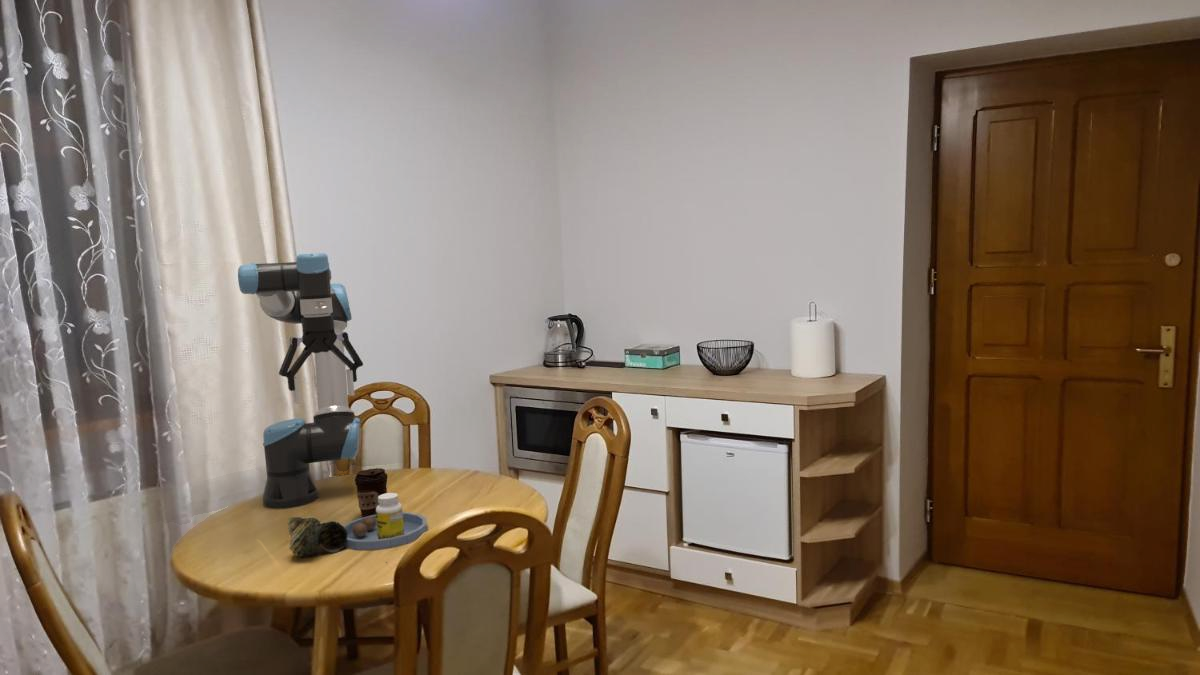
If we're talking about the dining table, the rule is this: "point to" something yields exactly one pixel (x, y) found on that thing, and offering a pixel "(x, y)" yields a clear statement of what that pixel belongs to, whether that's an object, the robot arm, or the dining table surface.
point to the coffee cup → (370, 489)
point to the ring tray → (412, 531)
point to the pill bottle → (389, 516)
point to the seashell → (315, 536)
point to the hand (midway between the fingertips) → (324, 399)
